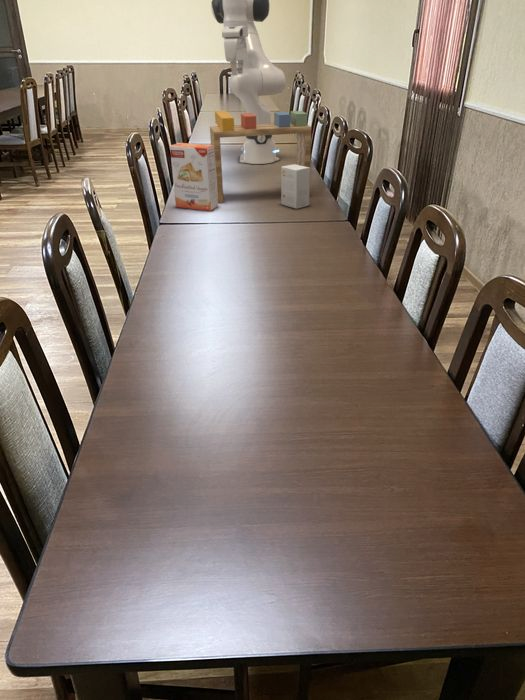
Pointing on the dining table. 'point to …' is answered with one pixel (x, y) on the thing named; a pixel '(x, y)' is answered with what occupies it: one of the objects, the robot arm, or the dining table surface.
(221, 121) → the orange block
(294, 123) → the block
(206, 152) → the cracker box
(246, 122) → the block
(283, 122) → the block
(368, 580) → the dining table surface
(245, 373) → the dining table surface
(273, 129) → the shelf
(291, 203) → the small box
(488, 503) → the dining table surface
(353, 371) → the dining table surface
